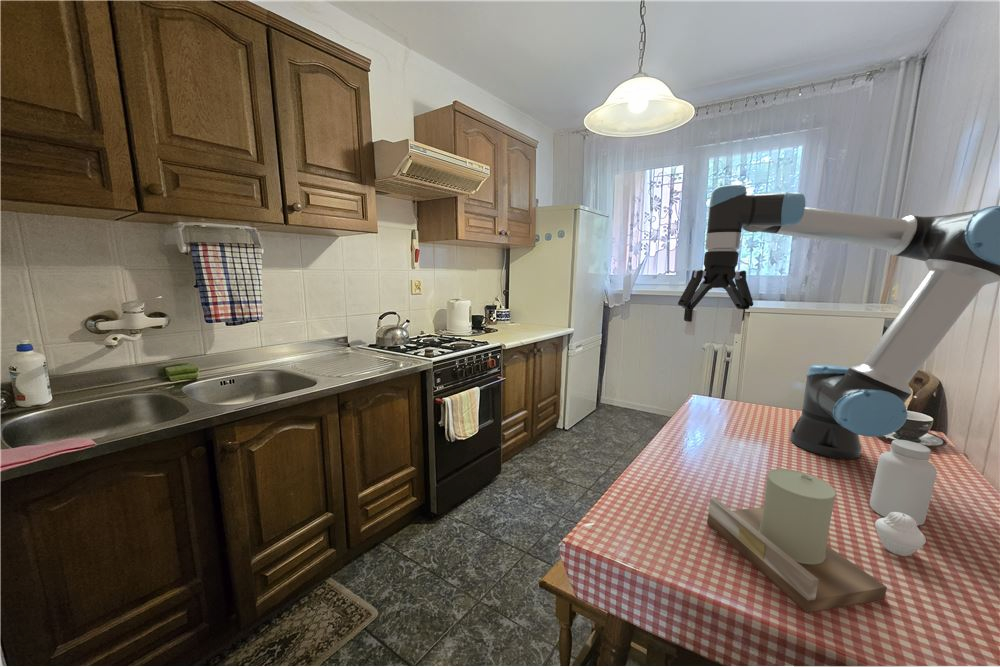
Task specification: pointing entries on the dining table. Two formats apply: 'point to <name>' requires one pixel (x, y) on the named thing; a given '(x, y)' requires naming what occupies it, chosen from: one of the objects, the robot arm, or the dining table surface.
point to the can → (797, 514)
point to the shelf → (795, 564)
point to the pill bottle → (904, 481)
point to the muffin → (900, 534)
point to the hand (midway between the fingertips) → (712, 333)
